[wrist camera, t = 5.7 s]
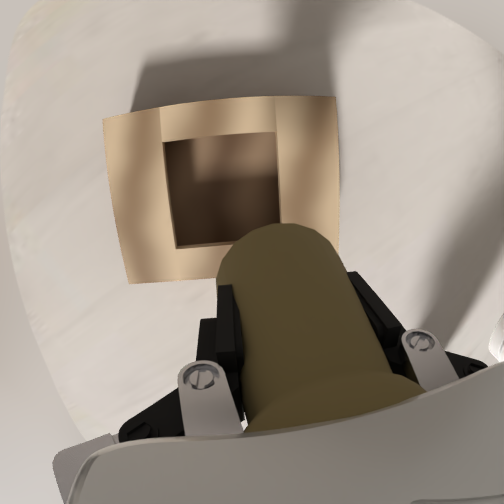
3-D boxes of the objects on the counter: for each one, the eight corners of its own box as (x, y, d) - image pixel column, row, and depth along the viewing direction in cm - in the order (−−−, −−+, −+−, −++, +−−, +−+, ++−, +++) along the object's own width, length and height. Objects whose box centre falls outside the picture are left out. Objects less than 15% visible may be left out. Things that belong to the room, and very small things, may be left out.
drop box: (314, 105, 25) (335, 96, 20) (318, 243, 30) (337, 266, 25) (127, 122, 24) (102, 119, 19) (146, 258, 29) (129, 284, 24)
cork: (190, 262, 13) (140, 533, 3) (315, 198, 12) (528, 393, 2) (252, 353, 15) (282, 560, 5) (356, 303, 14) (470, 486, 4)
